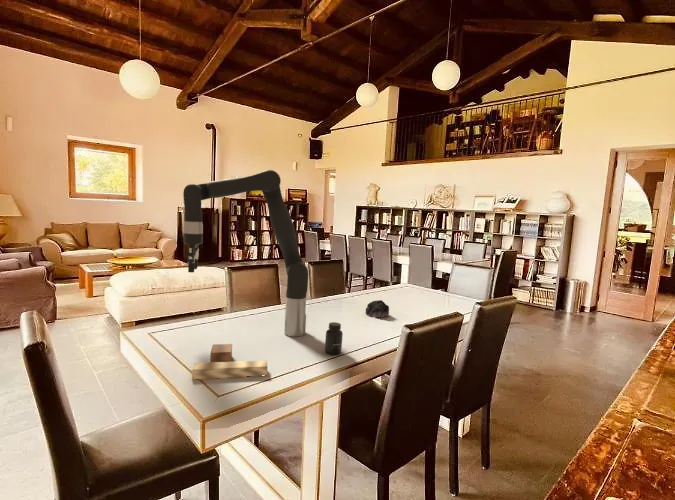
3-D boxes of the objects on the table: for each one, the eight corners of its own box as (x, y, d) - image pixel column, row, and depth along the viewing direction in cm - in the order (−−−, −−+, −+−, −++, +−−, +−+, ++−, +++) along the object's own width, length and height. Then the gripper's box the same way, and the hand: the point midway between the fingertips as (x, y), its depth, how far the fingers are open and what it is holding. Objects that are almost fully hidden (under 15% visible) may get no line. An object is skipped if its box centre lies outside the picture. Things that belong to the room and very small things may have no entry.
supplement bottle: (335, 357, 143) (337, 327, 142) (321, 353, 147) (322, 324, 146) (344, 352, 149) (346, 323, 148) (330, 348, 153) (332, 320, 152)
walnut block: (231, 356, 139) (232, 343, 139) (230, 365, 131) (231, 352, 131) (212, 357, 138) (212, 344, 137) (210, 366, 130) (210, 352, 129)
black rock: (368, 312, 216) (367, 295, 214) (391, 312, 212) (390, 296, 210) (363, 319, 203) (362, 302, 201) (388, 320, 199) (387, 303, 198)
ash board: (266, 369, 129) (266, 360, 129) (267, 376, 124) (267, 366, 124) (194, 373, 123) (194, 363, 123) (191, 379, 119) (192, 369, 118)
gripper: (200, 233, 147) (199, 273, 149) (205, 231, 161) (204, 268, 162) (180, 233, 145) (180, 273, 147) (186, 230, 159) (186, 267, 161)
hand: (192, 270), depth 155 cm, fingers open, 8 cm apart
